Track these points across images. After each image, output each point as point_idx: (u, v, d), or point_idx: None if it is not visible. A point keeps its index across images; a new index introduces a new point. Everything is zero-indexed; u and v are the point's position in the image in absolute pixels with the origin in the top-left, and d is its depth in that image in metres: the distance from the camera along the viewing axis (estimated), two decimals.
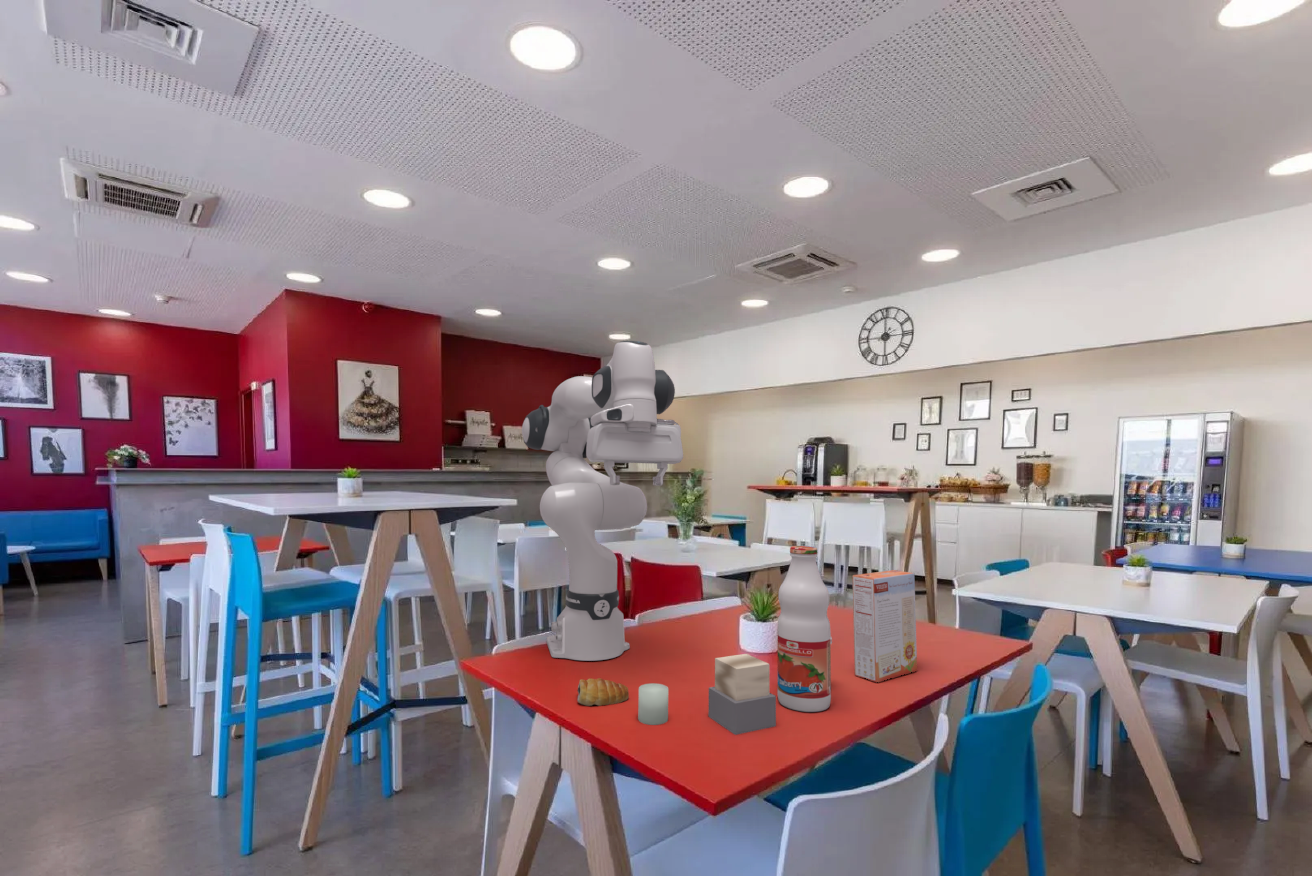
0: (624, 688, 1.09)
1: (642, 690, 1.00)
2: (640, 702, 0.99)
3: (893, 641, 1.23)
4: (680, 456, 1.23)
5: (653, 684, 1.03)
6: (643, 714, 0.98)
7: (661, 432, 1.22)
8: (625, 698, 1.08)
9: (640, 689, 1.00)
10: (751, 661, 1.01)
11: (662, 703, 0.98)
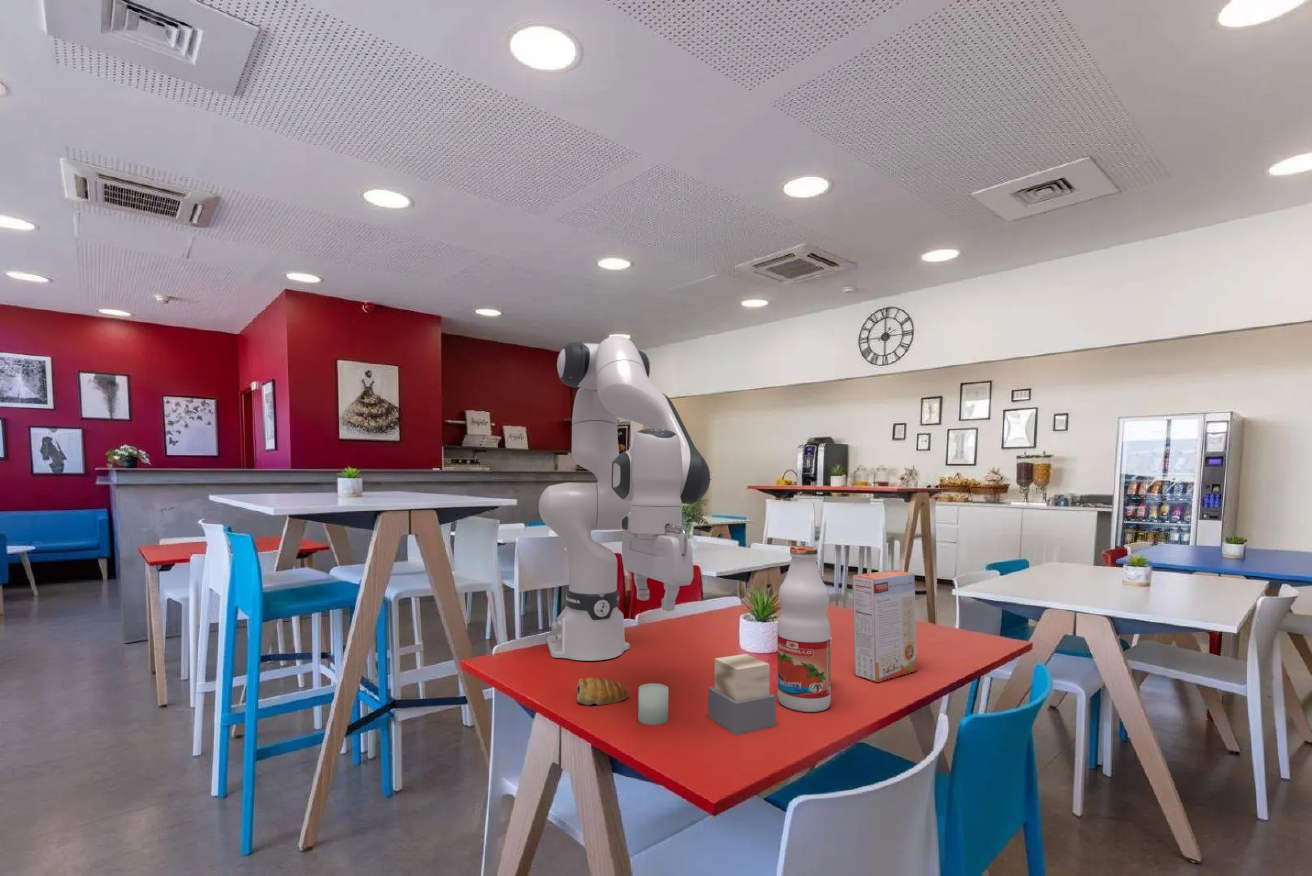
0: (623, 687, 1.09)
1: (642, 690, 1.00)
2: (640, 702, 0.99)
3: (893, 641, 1.23)
4: (671, 578, 0.93)
5: (653, 684, 1.03)
6: (643, 714, 0.98)
7: (659, 544, 0.97)
8: (625, 697, 1.08)
9: (640, 689, 1.00)
10: (751, 661, 1.00)
11: (662, 703, 0.98)
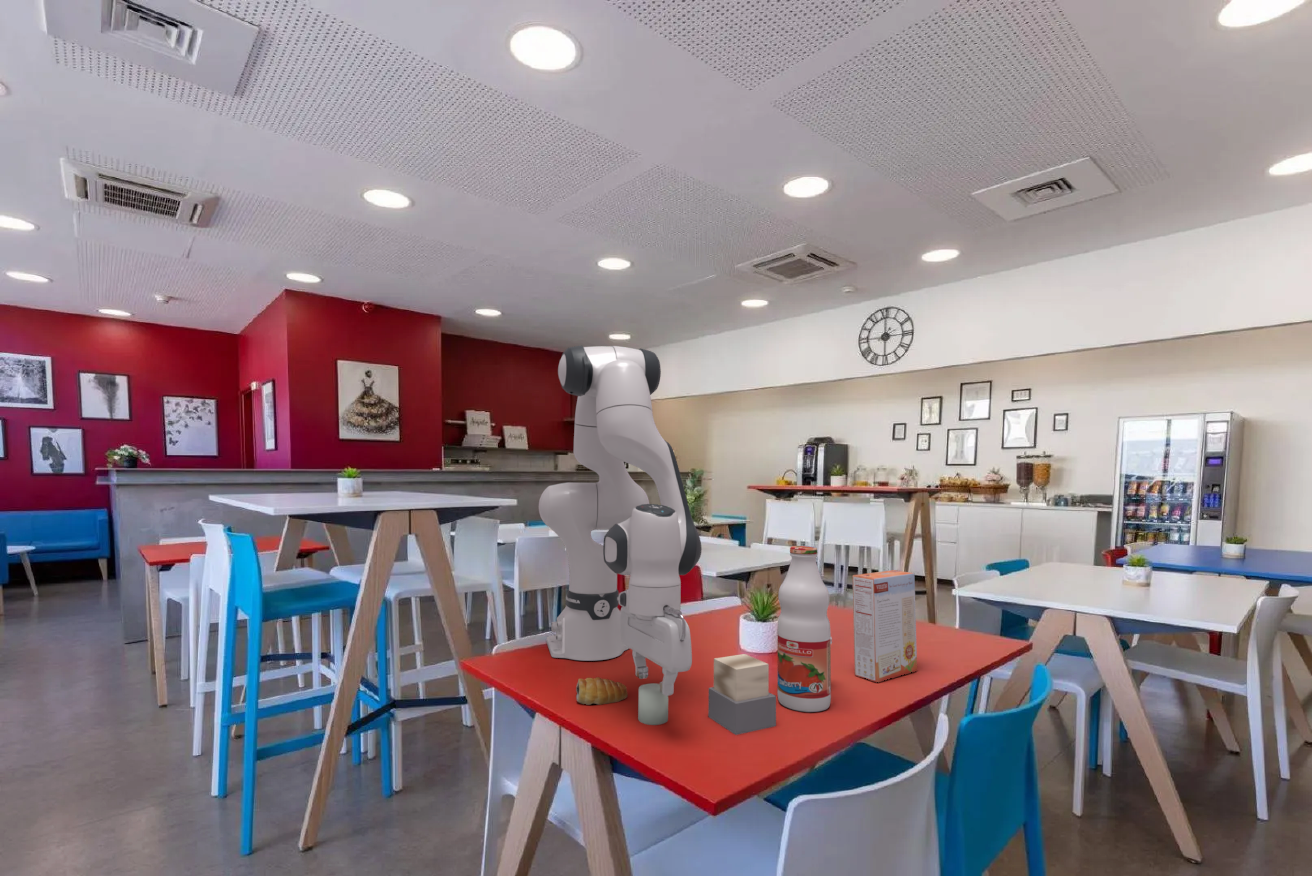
0: (623, 687, 1.10)
1: (642, 690, 1.00)
2: (640, 702, 0.99)
3: (893, 641, 1.23)
4: (669, 665, 0.91)
5: (653, 684, 1.03)
6: (643, 714, 0.98)
7: (657, 627, 0.96)
8: (624, 697, 1.09)
9: (640, 689, 1.00)
10: (750, 661, 1.00)
11: (662, 703, 0.99)
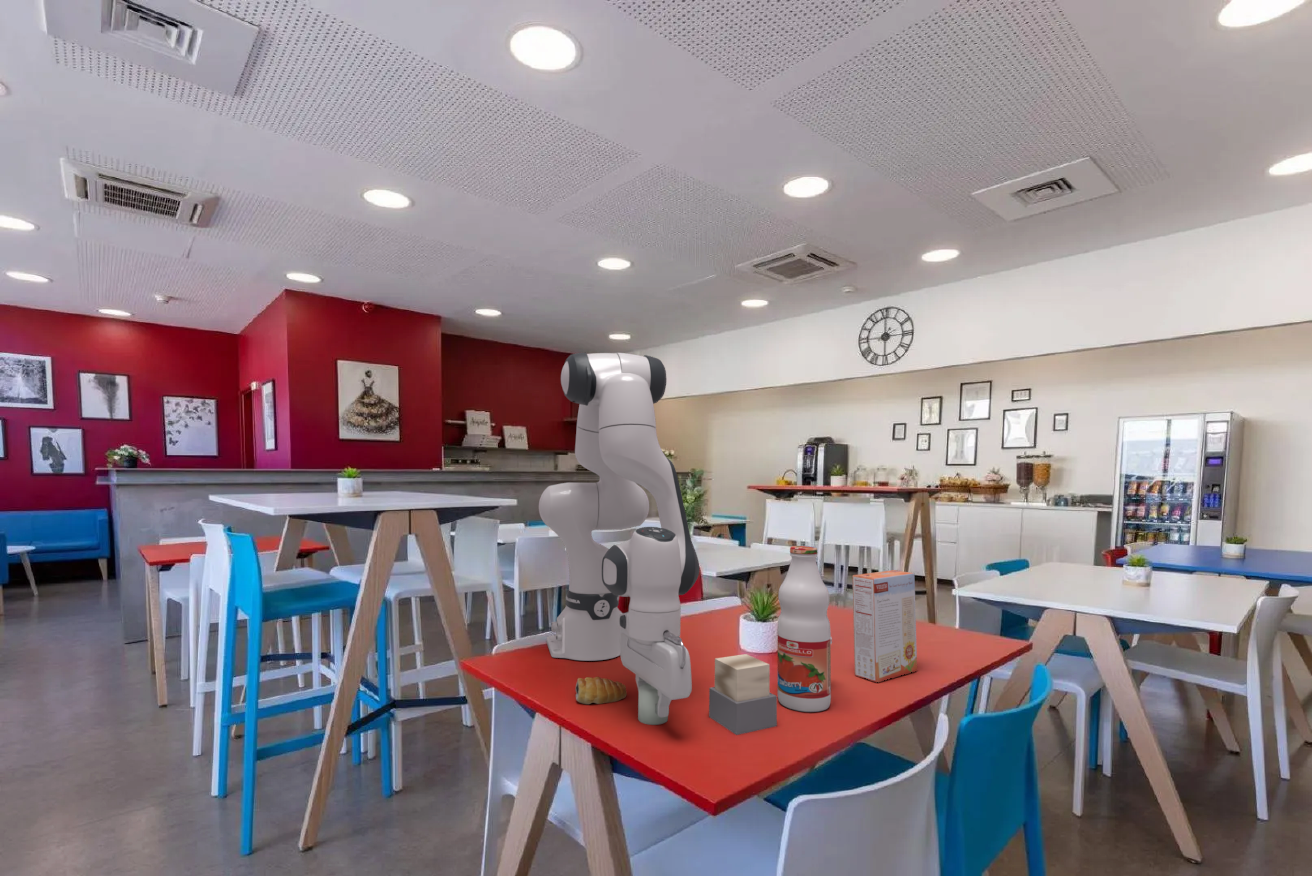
0: (622, 686, 1.10)
1: (642, 690, 1.00)
2: (640, 702, 0.99)
3: (893, 641, 1.23)
4: (669, 692, 0.92)
5: None
6: (643, 714, 0.98)
7: (657, 652, 0.96)
8: (623, 696, 1.09)
9: (640, 689, 1.00)
10: (751, 661, 1.00)
11: None
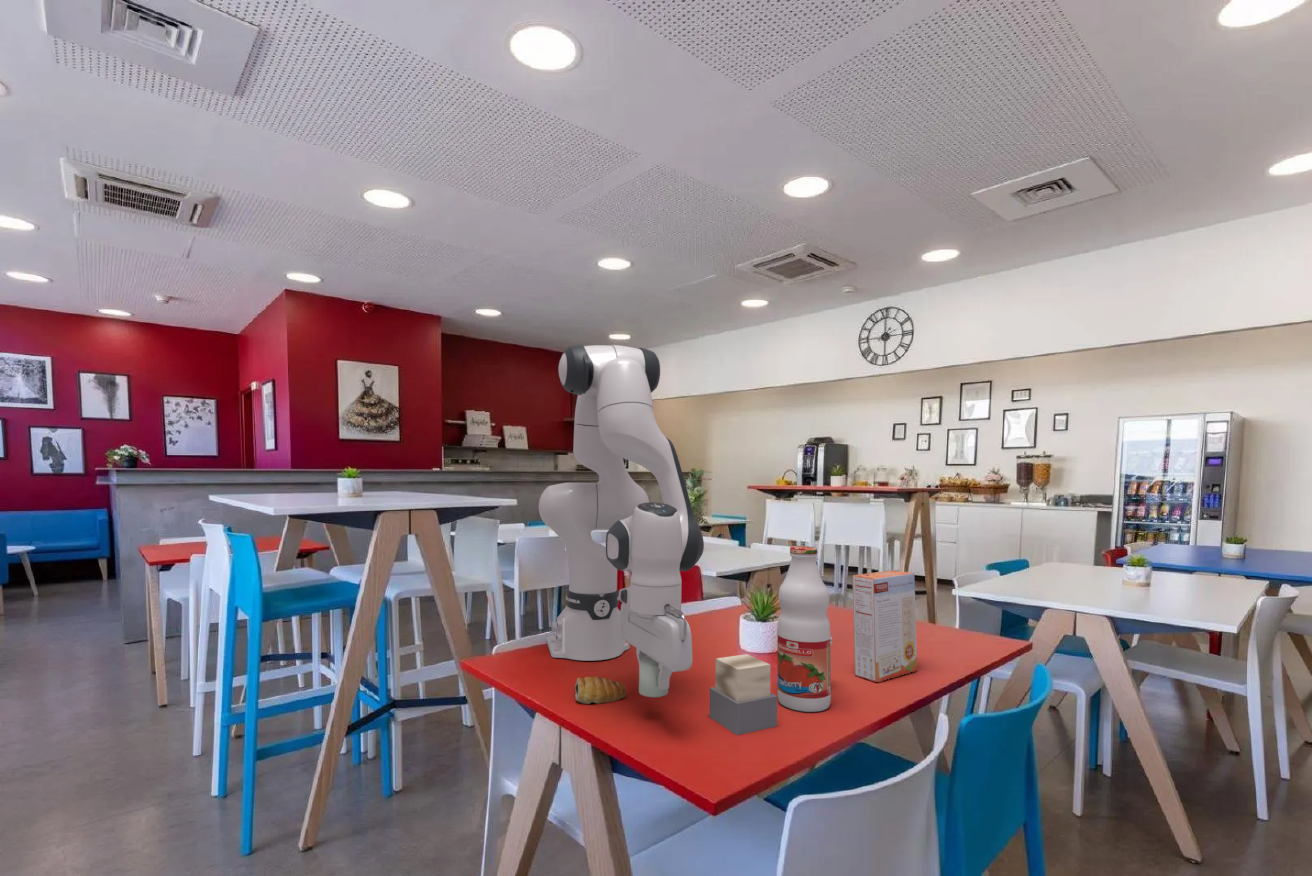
0: (621, 686, 1.10)
1: (643, 663, 1.00)
2: (641, 675, 1.00)
3: (893, 641, 1.23)
4: (670, 664, 0.93)
5: None
6: (644, 686, 0.99)
7: (658, 626, 0.97)
8: (623, 696, 1.09)
9: (641, 662, 1.01)
10: (752, 661, 1.00)
11: None
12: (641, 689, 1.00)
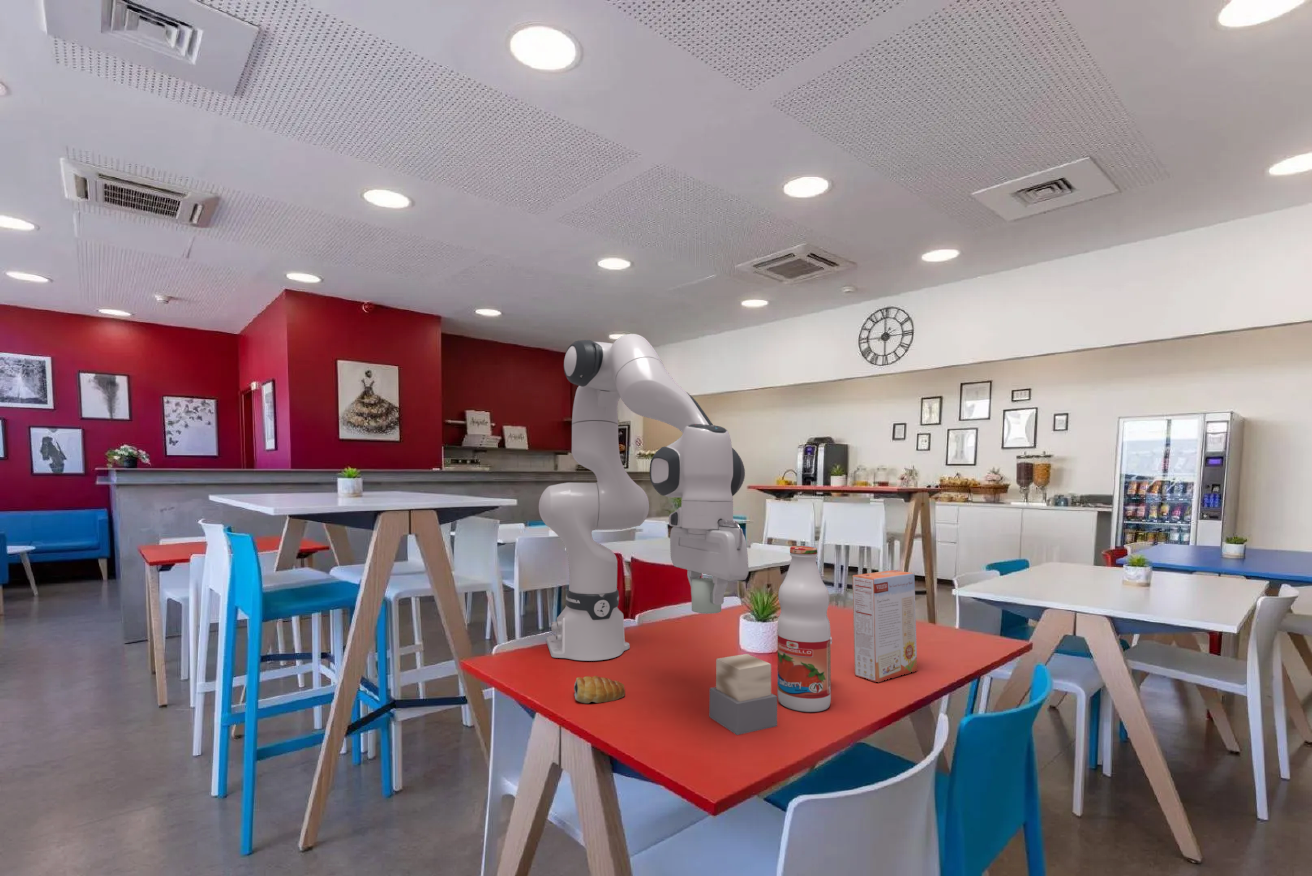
0: (620, 685, 1.10)
1: (696, 581, 1.00)
2: (694, 592, 1.00)
3: (893, 641, 1.23)
4: (727, 573, 0.92)
5: (705, 578, 1.03)
6: (698, 603, 0.99)
7: (712, 539, 0.97)
8: (622, 695, 1.09)
9: (693, 580, 1.01)
10: (753, 661, 1.01)
11: None
12: (694, 607, 0.99)
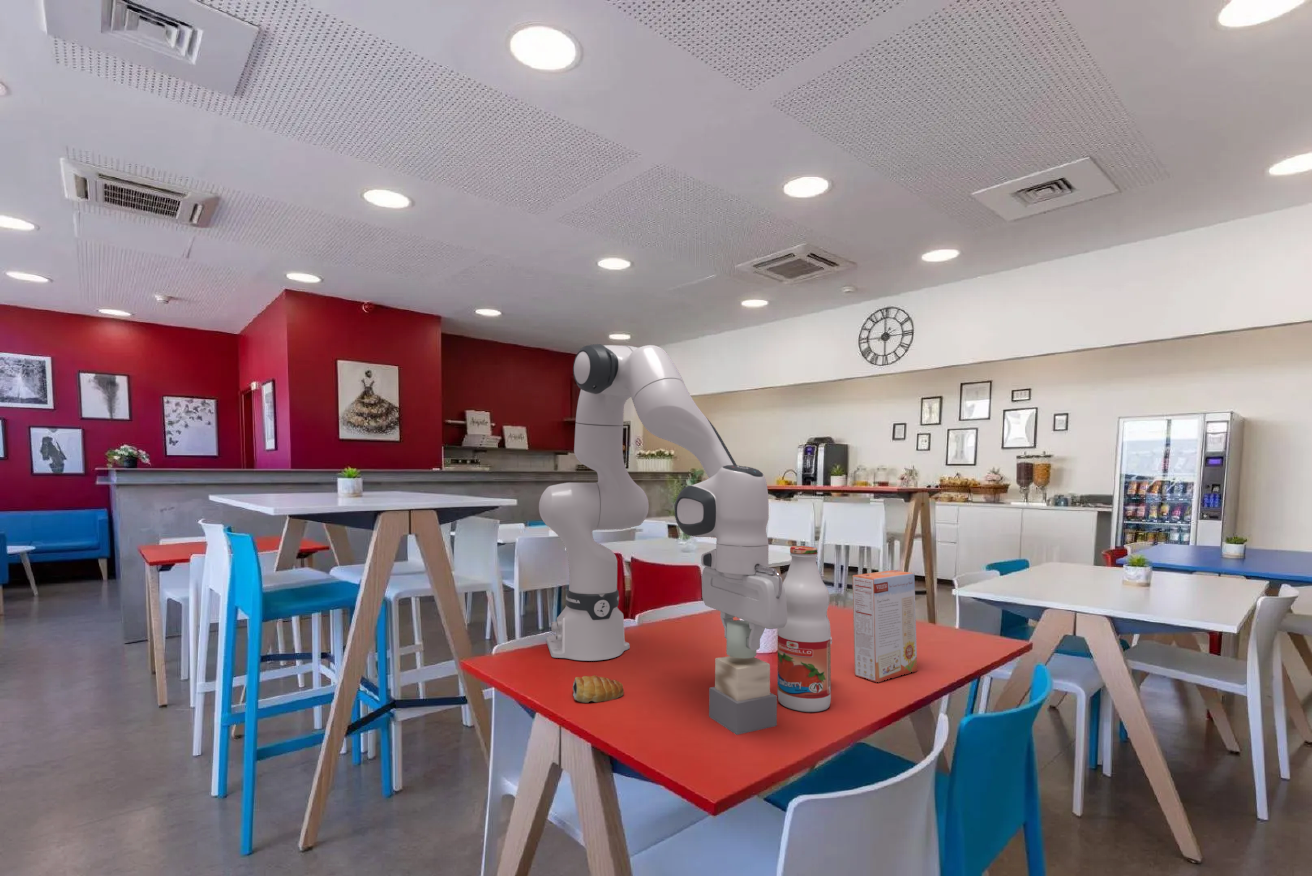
0: (619, 684, 1.11)
1: (731, 624, 1.00)
2: (729, 636, 1.00)
3: (893, 641, 1.23)
4: (766, 621, 0.92)
5: (739, 620, 1.03)
6: (733, 648, 0.99)
7: (750, 585, 0.96)
8: (621, 694, 1.10)
9: (729, 624, 1.00)
10: (752, 661, 1.01)
11: None
12: (730, 651, 0.99)
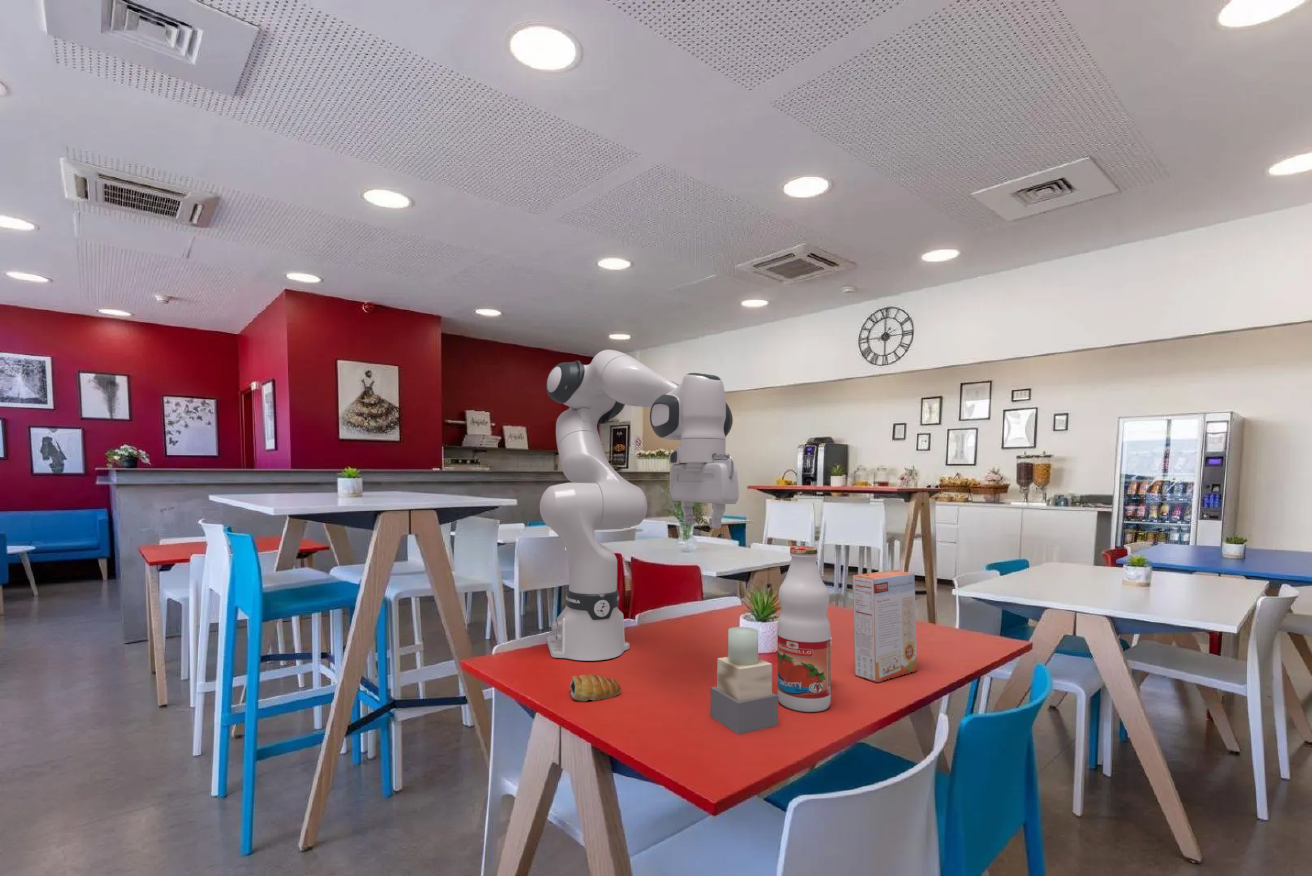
0: (616, 683, 1.12)
1: (732, 631, 1.00)
2: (731, 643, 1.00)
3: (893, 641, 1.23)
4: (720, 497, 1.07)
5: (741, 627, 1.03)
6: (735, 655, 0.99)
7: (707, 470, 1.11)
8: (618, 692, 1.11)
9: (730, 631, 1.00)
10: None
11: (753, 644, 0.99)
12: (731, 658, 0.99)
